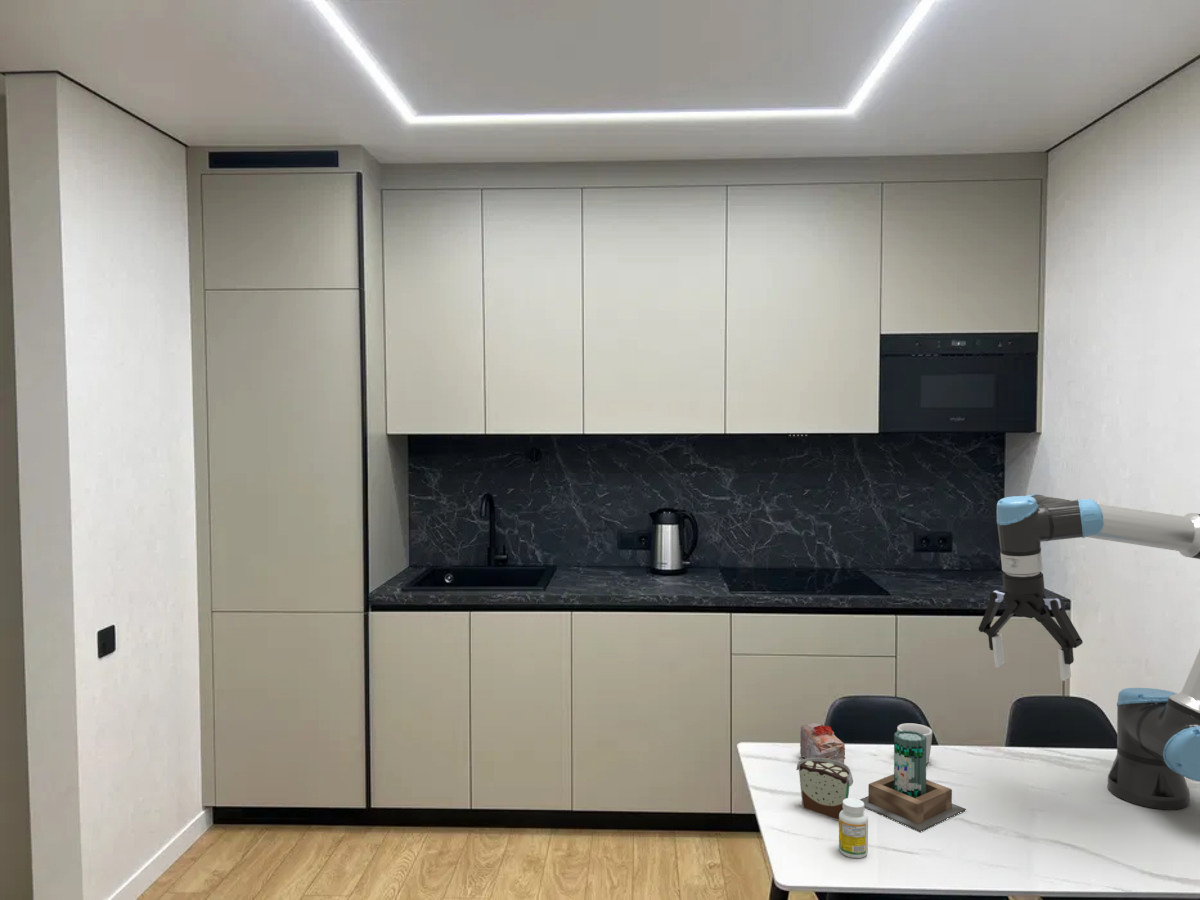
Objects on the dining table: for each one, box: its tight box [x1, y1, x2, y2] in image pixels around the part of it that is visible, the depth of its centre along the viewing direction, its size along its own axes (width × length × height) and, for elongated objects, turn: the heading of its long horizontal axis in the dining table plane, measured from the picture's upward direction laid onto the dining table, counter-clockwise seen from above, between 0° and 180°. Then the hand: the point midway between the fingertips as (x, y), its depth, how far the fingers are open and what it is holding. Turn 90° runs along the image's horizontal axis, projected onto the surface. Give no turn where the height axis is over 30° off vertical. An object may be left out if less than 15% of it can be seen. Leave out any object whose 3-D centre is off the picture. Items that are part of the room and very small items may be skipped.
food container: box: [796, 758, 854, 822], centre depth 179 cm, size 12×6×10 cm, turn 47°
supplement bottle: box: [838, 797, 869, 859], centre depth 162 cm, size 5×5×10 cm
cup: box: [896, 722, 933, 764], centre depth 203 cm, size 11×8×8 cm
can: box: [893, 730, 927, 798], centre depth 180 cm, size 6×6×15 cm
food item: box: [799, 722, 846, 764], centre depth 202 cm, size 14×8×10 cm, turn 9°
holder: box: [859, 773, 967, 833], centre depth 181 cm, size 16×16×4 cm
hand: (1031, 671), depth 176 cm, fingers open, 13 cm apart
